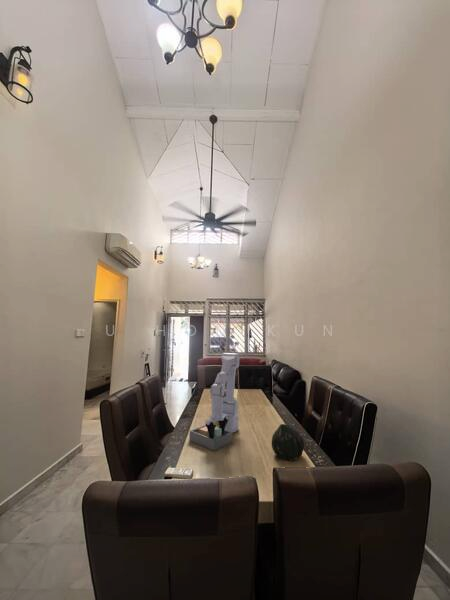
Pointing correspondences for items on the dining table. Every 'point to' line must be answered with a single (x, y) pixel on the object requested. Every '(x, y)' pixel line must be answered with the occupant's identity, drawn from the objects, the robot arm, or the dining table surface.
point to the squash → (287, 443)
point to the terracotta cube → (204, 431)
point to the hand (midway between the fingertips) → (216, 435)
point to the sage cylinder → (217, 432)
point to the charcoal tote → (210, 439)
